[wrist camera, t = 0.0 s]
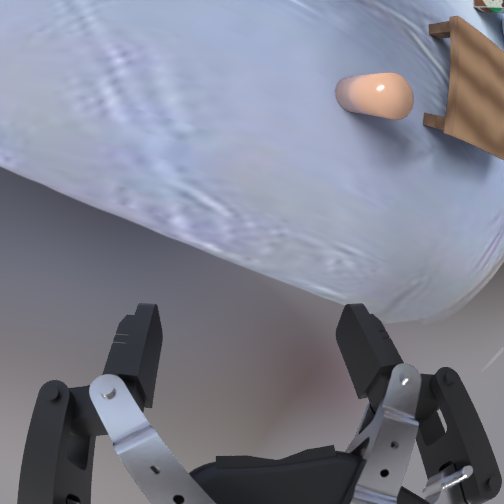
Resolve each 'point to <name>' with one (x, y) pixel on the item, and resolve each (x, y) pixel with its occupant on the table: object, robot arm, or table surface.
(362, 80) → the peach rounded cylinder
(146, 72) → the table surface
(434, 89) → the table surface
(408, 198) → the table surface
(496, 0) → the food container
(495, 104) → the footstool
